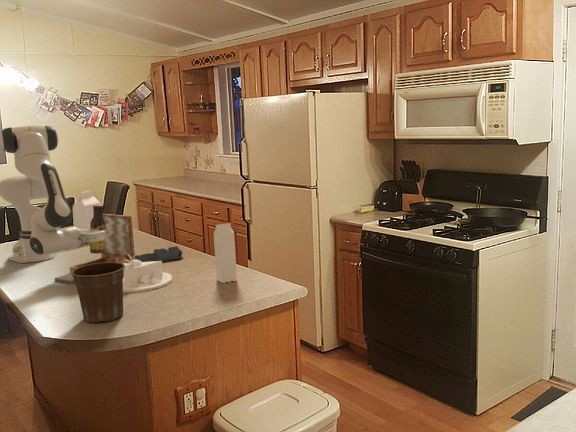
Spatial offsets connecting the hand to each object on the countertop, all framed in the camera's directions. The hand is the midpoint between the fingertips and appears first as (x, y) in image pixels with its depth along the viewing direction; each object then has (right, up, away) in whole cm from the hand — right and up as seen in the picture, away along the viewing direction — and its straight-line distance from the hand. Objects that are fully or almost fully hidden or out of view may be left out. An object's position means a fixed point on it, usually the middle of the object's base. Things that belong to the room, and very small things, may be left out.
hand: (99, 231), depth 235 cm
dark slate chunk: (+21, -14, +17) cm, 30 cm away
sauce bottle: (-1, -9, 0) cm, 9 cm away
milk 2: (+56, -19, -20) cm, 62 cm away
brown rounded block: (+8, -16, +4) cm, 18 cm away
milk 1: (-27, -7, +66) cm, 72 cm away
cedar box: (+1, -16, +3) cm, 17 cm away
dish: (+22, -20, -18) cm, 35 cm away
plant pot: (+20, -26, -55) cm, 64 cm away
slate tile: (-7, -19, -9) cm, 22 cm away
